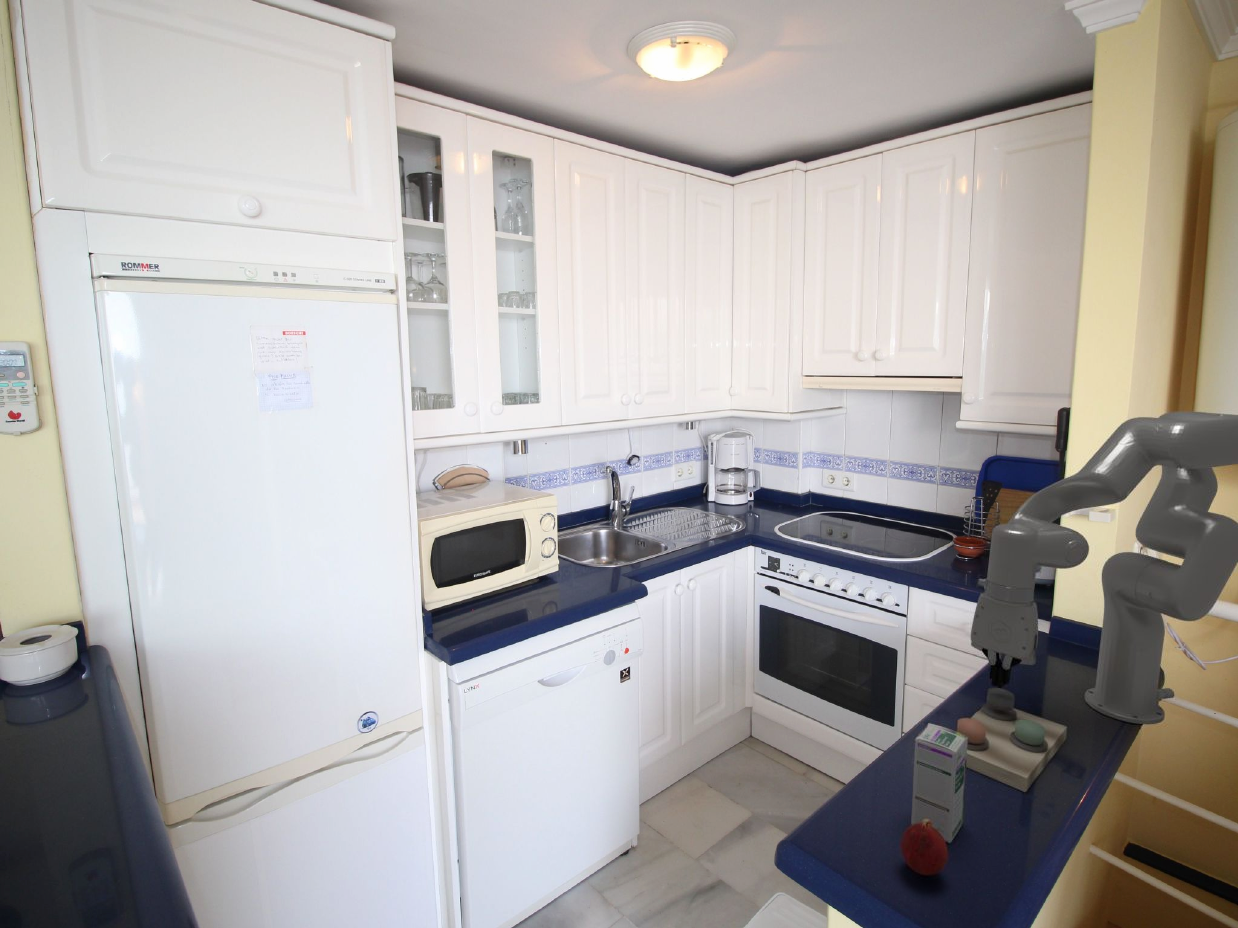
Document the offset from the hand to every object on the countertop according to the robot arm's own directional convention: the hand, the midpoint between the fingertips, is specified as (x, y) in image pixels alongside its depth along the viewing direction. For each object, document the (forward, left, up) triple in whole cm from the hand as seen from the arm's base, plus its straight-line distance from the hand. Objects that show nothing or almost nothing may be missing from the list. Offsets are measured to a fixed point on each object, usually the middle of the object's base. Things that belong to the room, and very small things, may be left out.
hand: (998, 684), depth 123 cm
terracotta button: (+11, +7, -5) cm, 14 cm away
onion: (+37, +30, -9) cm, 48 cm away
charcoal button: (-1, 0, -4) cm, 4 cm away
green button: (+2, +10, -5) cm, 11 cm away
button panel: (+4, +7, -8) cm, 11 cm away
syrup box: (+29, +22, -9) cm, 37 cm away
